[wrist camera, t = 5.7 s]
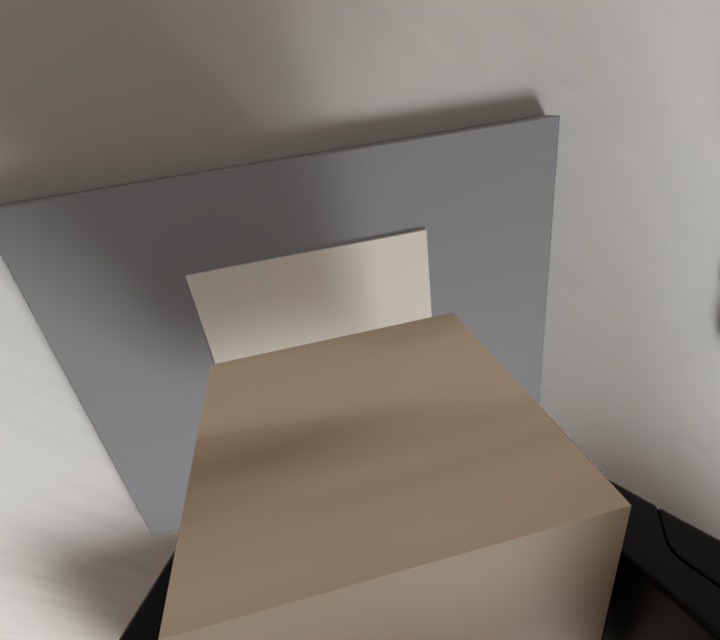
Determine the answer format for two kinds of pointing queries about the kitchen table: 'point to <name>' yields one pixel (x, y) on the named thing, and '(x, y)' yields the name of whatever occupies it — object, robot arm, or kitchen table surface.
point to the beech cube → (389, 500)
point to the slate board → (280, 274)
